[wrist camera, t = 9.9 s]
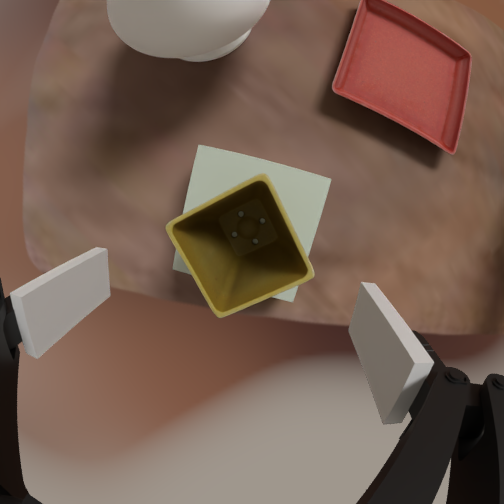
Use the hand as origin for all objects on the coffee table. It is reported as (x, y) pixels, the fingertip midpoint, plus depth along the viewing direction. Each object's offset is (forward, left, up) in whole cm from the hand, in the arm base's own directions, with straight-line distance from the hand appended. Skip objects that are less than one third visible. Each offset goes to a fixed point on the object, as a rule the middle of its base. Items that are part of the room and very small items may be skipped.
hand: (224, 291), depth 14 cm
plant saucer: (-18, -23, -23) cm, 37 cm away
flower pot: (0, 0, -17) cm, 17 cm away
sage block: (0, 0, -23) cm, 23 cm away
